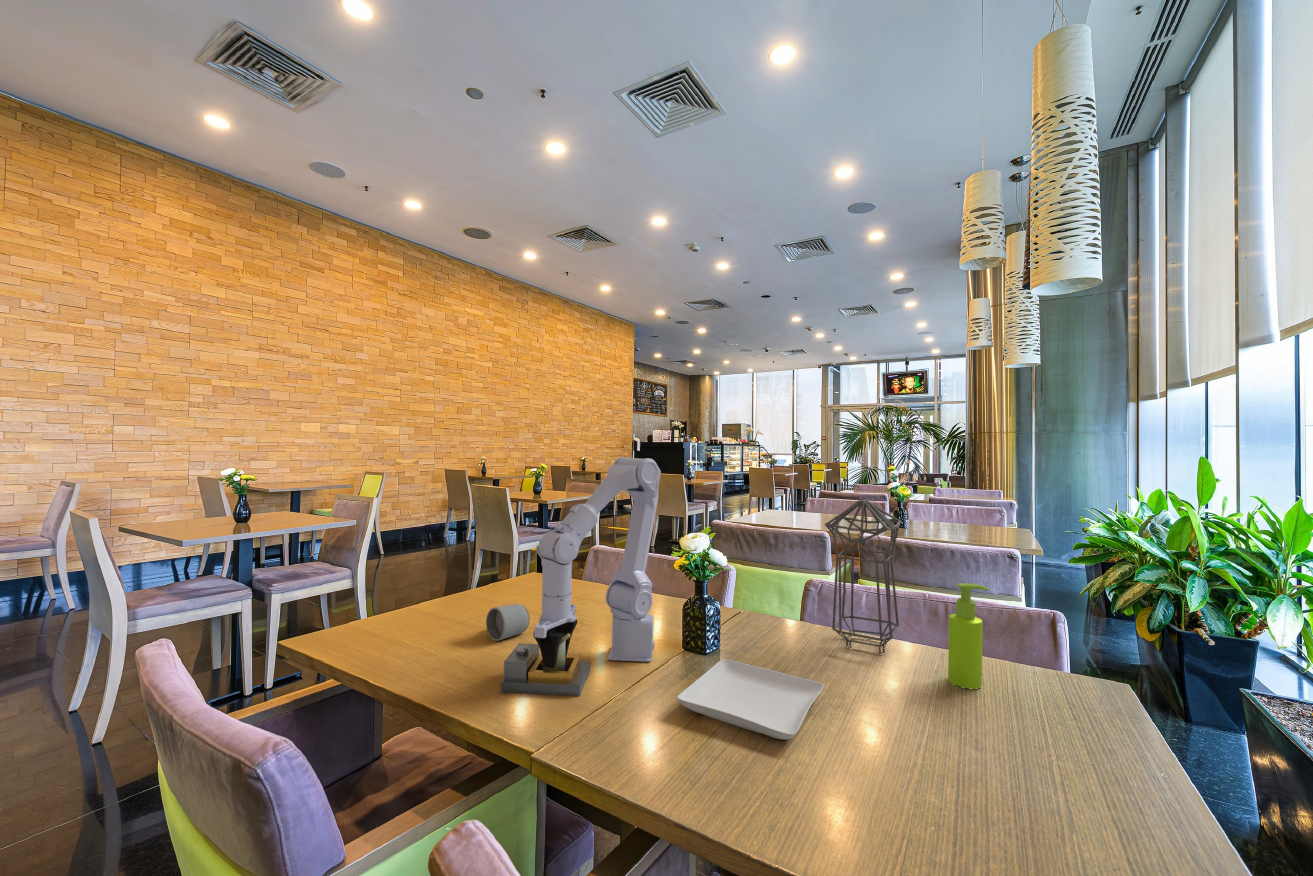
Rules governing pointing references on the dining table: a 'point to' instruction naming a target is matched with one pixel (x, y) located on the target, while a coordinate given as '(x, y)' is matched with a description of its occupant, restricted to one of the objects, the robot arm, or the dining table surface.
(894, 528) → the geometric lantern
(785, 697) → the salad plate
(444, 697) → the dining table surface
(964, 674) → the soap dispenser
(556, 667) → the spout can
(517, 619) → the grey hollow cylinder
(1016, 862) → the dining table surface
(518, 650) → the assembly fixture
